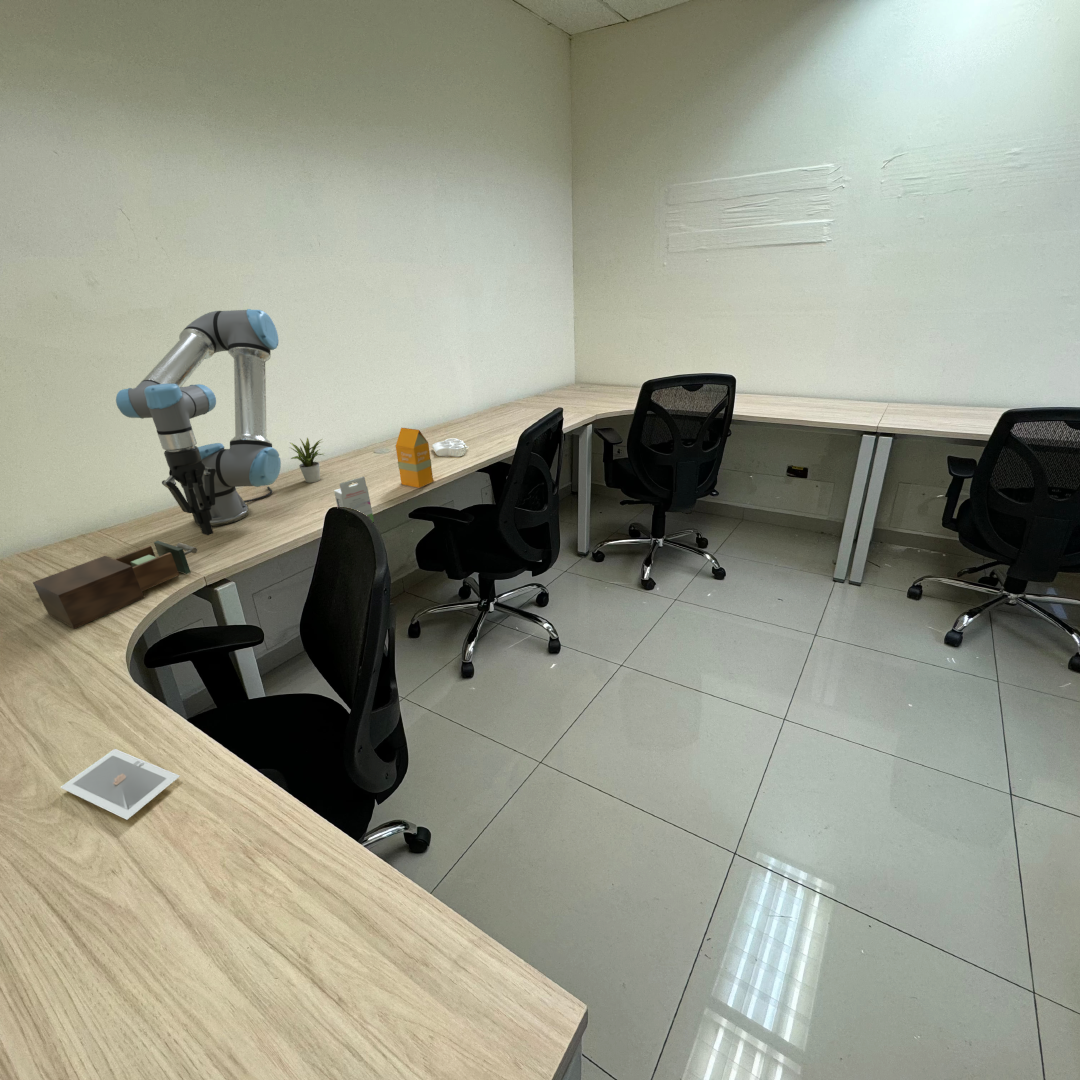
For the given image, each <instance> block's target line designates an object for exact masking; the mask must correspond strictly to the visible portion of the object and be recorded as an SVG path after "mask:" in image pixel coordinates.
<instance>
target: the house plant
mask: <svg viewBox="0 0 1080 1080" xmlns="http://www.w3.org/2000/svg"><path fill="white" fill-rule="evenodd" d="M299 439H300V443H301V445H302V446H299V447H298V445H297V444H294V443H292V442H290V444H291V445H292V447H293V448H292V447H291V446H290V447H288V448H289V449H291V450H293V451H294V452H295V453H296V454H297V455H295V456H292V457H291V458H290V460H293V459H295V460H298V461H300V462H301V464H299V469H300V472H301V474H302V477H303V479H304V481H305V483H308V484H309V483H316V482H319V481H320V480H321V471H320V470H321V469H320V468H321V467H320V462H319V461H314V460H315V459H316V457H318V456H325V457H326V455H325V452H323V453H319V451H320V450H321V449H320V448H319V449H317V447H318V445H320V444H321V443H322V440H323V438H321V439H319V440H318V441H316V442H315V443H314V445H313V446H311V444H310V439H309V438H308V437H306V440H305V442H304V441H303V440H302V439H301V438H299Z"/></svg>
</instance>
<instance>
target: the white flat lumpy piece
mask: <svg viewBox="0 0 1080 1080" xmlns="http://www.w3.org/2000/svg"><path fill="white" fill-rule="evenodd" d="M431 448H432V449H433V451H434V452H435V453H434V454H435V455H437V456H438V457H447V456H448V457H449V456H451V457H454V458H455V457H463V456H465V455H466V452H467V449H469V448H470V446H467V443H465V441H464V440H461V439H459V438H455V437H454V438H453V437H451V438H447V439H444V440H442V441H436V442H434V443H433V444H431Z"/></svg>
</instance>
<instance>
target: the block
mask: <svg viewBox="0 0 1080 1080" xmlns="http://www.w3.org/2000/svg"><path fill="white" fill-rule="evenodd" d="M157 557H158V556H155V557H154V556H151V555H147V556H144V557H142V558H139V559H137V560H134V561H131V564H132V567H134V566H137V565H139V564H142V563H144V562H147V561H149V560H152V559H154V558H157Z"/></svg>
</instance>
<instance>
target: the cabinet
mask: <svg viewBox="0 0 1080 1080" xmlns="http://www.w3.org/2000/svg"><path fill="white" fill-rule="evenodd" d="M32 584H33V587H34V588H35V590H36V593H37V595H38V596H39V599H40V600H41V602H42V605H43V606H44V609H45V610H46V612H47V615H48V616H50V617H52V618H54V619H56V620H57V621H59V622H61V623H63V624H64V625H66V626H67V627H71V628H72V629H74V630H75V629H77V628H79V627H82V626H84V625H86V624H88V623H91V622H93V621H95V620H97V619H100V618H102V617H104V616H107V615H109V614H112V613H114V612H115V611H118V610H120V609H123V608H124V607H126V606H129V605H131V604H134V603H136V602H138V601H141V600H142V599H145V596H144V593H143V591H142V590H141V588H140V585H139V583H138V580H137V578H136V575H135V573H134V570H133V568H132V566H130V565H128V564H125V563H122V562H120V561H117V560H115V558H112V557H110V556H107V555H103V556H100V557H97V558H95V559H92V560H89V561H86V562H83V563H81V564H78V565H76V566H73V567H70V568H67V569H64V570H62V571H59V572H57V573H54V574H52V575H48V576H46V577H43V578H41V579H37V580H35V581H33V582H32Z"/></svg>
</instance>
